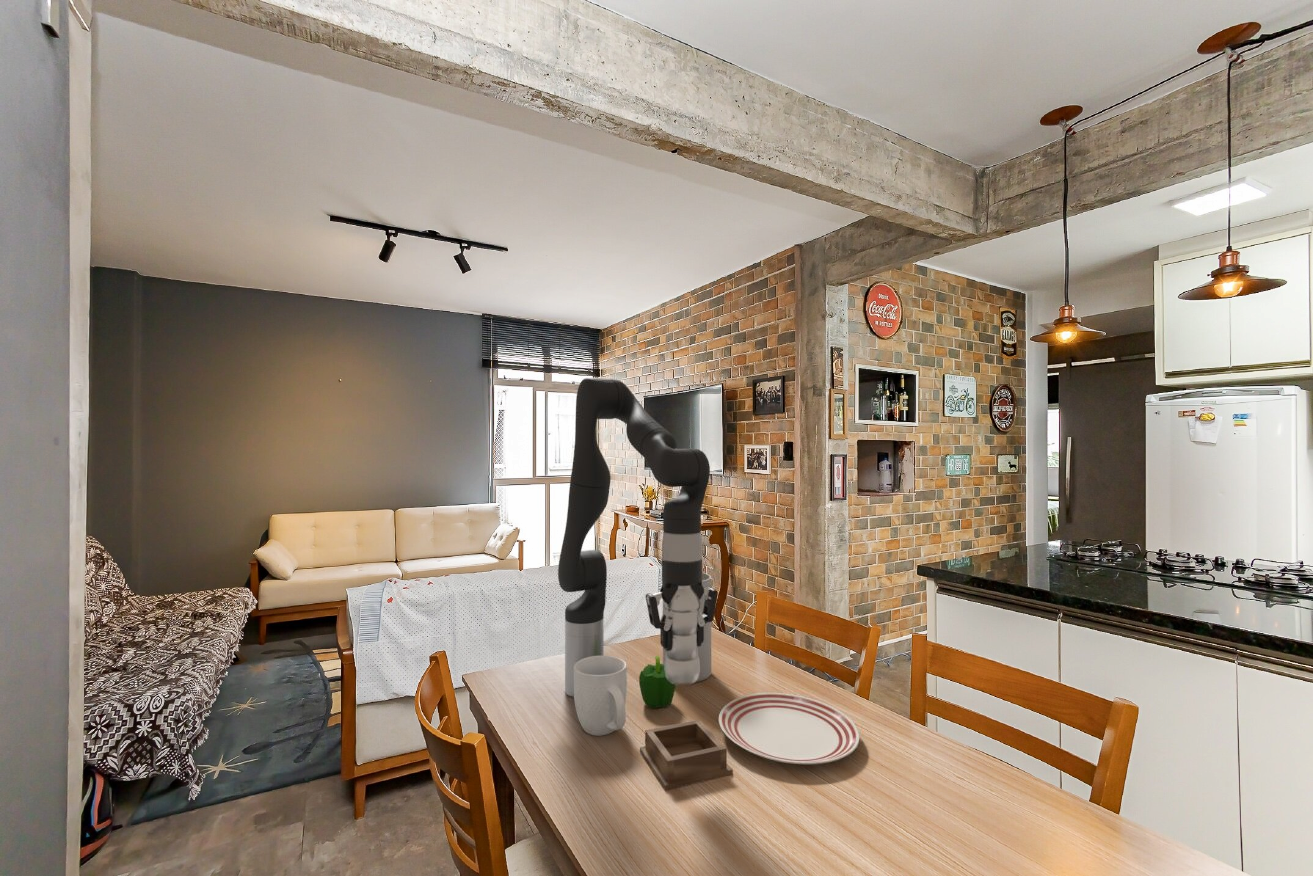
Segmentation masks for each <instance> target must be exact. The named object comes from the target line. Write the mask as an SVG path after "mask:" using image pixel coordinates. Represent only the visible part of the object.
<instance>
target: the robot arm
mask: <svg viewBox="0 0 1313 876" xmlns="http://www.w3.org/2000/svg"><path fill="white" fill-rule="evenodd" d="M576 391H577V392H576V399H575V420H574V421H575V425H574V427H575V428H574V430H575V432H574V435H575V436H574V449H573V460H572V467H571V473H570V479H569V480H570V481H569V490H568V503H567V513H566V523H565V529H564V534H563V539H562V544H561V545H562V546H561V550H560V555H559V561H558V568H557V569H558V570H557V576H558V577H557V579H558V582H559V583H558V584H559V587H560V589H561V590H562V591H564V592H566V593H575V592H582V591H583V593H582V594H581V596H579V598H577V599H576V600H574V601H573V602H571V603H569V604H568V605H567V606H566V608H565V610H564V692H565V694H566V695H568V696H569V697H572V698H574V665H575V663H576V662H578V661H579V660H581V659H584V658H587V657H591V656H605V653H604V651H605V650H604V648H605V647H604V645H605V643H604V642H605V641H604V638H605V637H604V636H605V635H604V633H605V631H604V624H605V623H604V620H605V619H604V618H605V617H604V615H605V614H604V613H605V612H604V611H605V608H606V600H607V599H606V597H607V579H608V578H607V577H608V576H607V575H608V574H607V573H608V570H607V569H608V567H607V562H606V561H607V560H606V559H605V556H604V554H603V553H602V552H601V550H596V549H591V550H583V551H582V549H583V546H584V542H585V539H586V537H587V535H588V533H589V532H590V531H591V529H592V527H594V525H595V523H596V522H597V521H598V519H599V518H600V517H601V516H602V515H603V512H604V511H605V509H606V507H607V505H608V502H609V496H610V486H611V472H610V468H609V466H608V463H607V462H606V459H605V457H604V456H603V454H602V452H601V450H600V447H599V444H598V441H597V440H598V439H597V422H598V420H619V421H621V422H623V423H624V424H626V426H625V429H626V433H625V434H626V438H627V439H628V442H629V444H630V445H631V446H632V447H633V449H635V450H636V451H637V453H639V454H640V455H641V457H643V458H644V459H645V461H646V463H647V465H648V467H649V468H650V471H651V473H652V475H653V477H654V479H655V480H656V481H657V482H658V483H659V484H661V485H663V486H665V487H667V488H668V487H669V488H679V487H680V490H679V493H678V495H677V496H676V497H674V498H672V499H670V500H667V501H666V502H665V503H664V505H663V511H662V512H663V515H662V516H663V517H662V519H663V520H662V521H663V523H662V525H663V526H662V528H663V529H662V530H663V532H662V533H663V534H662V539H661V540H662V541H661V587H660V589H659V591H658V592H656V593H655V592H654V593H646V595H645V601H646V608H647V612H648V613H647V614H648V617H649V622H650V625H652V626H653V627H654V629H657V630H660V633H659V634H660V642H659V643H660V646H661V647H662V648H663V647H664V649H665V650H666V651H671V631H670V630H669V629H670V627H671V624H672V622H671V619H673V611H672V610H671V611H670V612H669V613H668V612H666V610H665V609H666V608H665V606H664V609H663V608H662V615H661V618H660V612H659V607H658V606H659V605H660V603H661V600H662V601H663V600H664V602H665V603H667V605H668V604H669V603H670V601H671V599H672V597H673V595H674V594H675V593H676V591H677V590H678V586H690V585H691V588H692V589H693V590H694V592H695V593H696V594H697V596H698V597H699V600H700V599H701V597H702V595H704V599H705V602H704V608H703V614H702V612H701V609H699V618H698V627H697V647H699V646H701V643H703V641H704V625H705V624H706V623H708V622H711V623H712V622H713V621H714V620H715V619H714V618H715V612H716V606H717V600H718V594H719V593H718V590H717V589H714V588H713V587H712V586H711V587H708V588H703V586H702V573H703V555H704V550H703V540H702V518H701V517H702V507H703V504H704V500H705V495H706V493H707V488H708V484H709V480H710V475H711V474H710V473H711V467H710V461H709V458H708V457H707V455H706V454H705V452H704V451H702V450H701V449H699V448H677V441H676V439H675V437H674V436H673V434H672V433H670V432H669V431H668V430H667V429H666V428H664V427H663V426H662V424H660V423H659V422H657V421H656V420H655V419H654V418H653V417H652V416H651V415H650V414H649V413H648V412H647V411H646V410H645V408H644V407H643V405H642V404H641V403H640V401H639V400H638V399H637V398H636V396H635V395H634V393H633V392H632V391H631V390H630V389H629V387H628V386H627V385H626V384H625V383H624V382H623V381H621V380H618V379H615V378H604V377H585V378H583V379H581V382H580V383H579V385H578V388H577V390H576ZM694 595H695V594H694ZM679 596H680V595H678V596H677V598H678V597H679ZM677 598H676V600H677Z"/></svg>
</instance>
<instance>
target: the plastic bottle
mask: <svg viewBox="0 0 1313 876" xmlns="http://www.w3.org/2000/svg"><path fill="white" fill-rule="evenodd" d="M694 594H695V595H694ZM678 595H680V596H679V597H678V598H677V596H678ZM676 598H677V600H676ZM665 608H666V609H665V610H666V612H668V613H669V612H670V611H671V610H672V611H673V619H671V622H672V624H671V627H670V629H669V630H670V631H671V651H667V656H666V659H665V666H664V671H665V676H666V678H667V680H668V681H669V682H670V683H672V684H675V686H677V685H678V686H689V685H692V684H694V683H697V682H696V681H697V679H698V678H699V674H700V662H699V657H698V648H697V627H698V618H699V609H700V600H699V597H698V596H697V594H696V593H695V592H694V590H693V589H692V588H691V585H690V586H678V590H677V591H676V593H675V594H674V595H673V597H672V599H671V601H670V603H669V604H668V605H667V603H665Z"/></svg>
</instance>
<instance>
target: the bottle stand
mask: <svg viewBox="0 0 1313 876" xmlns="http://www.w3.org/2000/svg"><path fill="white" fill-rule="evenodd" d="M644 734H645V737H644V738H645V739H644V740H645V741H644V743H645V745H644V746H641V747H639V752H640V754H641V756H642V757H643V759H644V760H645V761H646V762H645V763H647V764H648V766H649V768H650V769H651V771H652V772H653V773H654V776H655V777H656V778H657V780H658V781H659V783H660V785H661V786H662V788H663V789H664V790H665V791H669V790H672V789H676V788H681V787H684V786H689V785H693V784H697V783H702V782H705V781H709V780H714V779H718V778H722V777H727V776H730V775H731V776H733V774H734V771H733V768H732V767H731V765H729V764H728V760H727V757H728V756H727V752H728V751H727V746H725V745H724V744H723V742H721V741H720V740H719V738H717V737H716V735H714V733H712V732H711V730H710V729H709V728H708V727H707V726H706V725H705V724H704V723H703V722H702V721H701V719H697V720H696V719H695V720H690V721H686V722H681V723H676V724H671V725H664V726H660V727H655V728H649V729H646V730H645V731H644Z"/></svg>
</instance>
